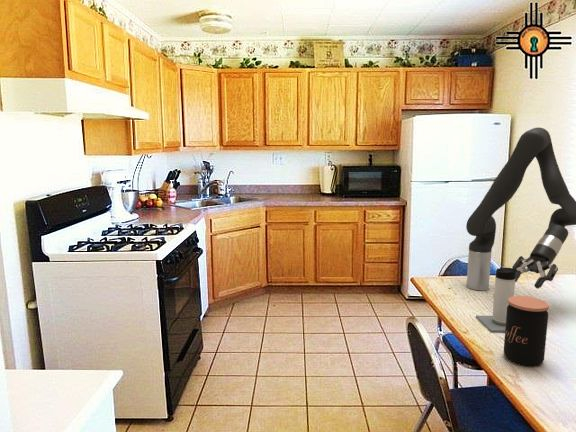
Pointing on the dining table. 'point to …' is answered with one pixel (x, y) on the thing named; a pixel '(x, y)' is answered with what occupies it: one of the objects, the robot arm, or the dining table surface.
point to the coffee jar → (526, 330)
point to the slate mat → (491, 324)
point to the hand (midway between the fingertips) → (524, 283)
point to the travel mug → (503, 293)
